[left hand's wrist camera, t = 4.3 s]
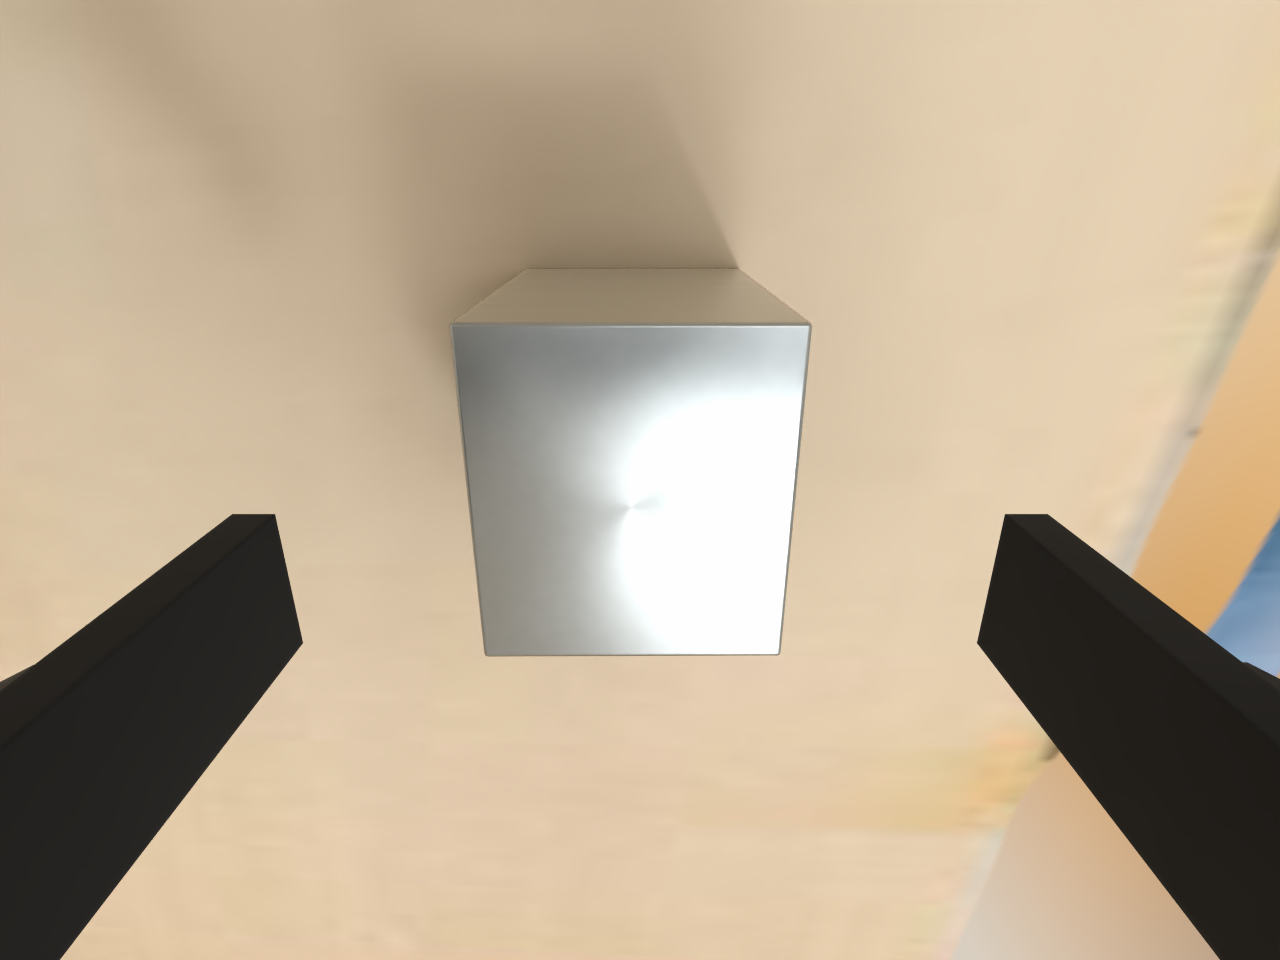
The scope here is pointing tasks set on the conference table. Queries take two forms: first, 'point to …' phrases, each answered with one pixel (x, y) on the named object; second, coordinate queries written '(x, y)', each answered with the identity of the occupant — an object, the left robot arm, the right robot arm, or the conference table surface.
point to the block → (631, 460)
